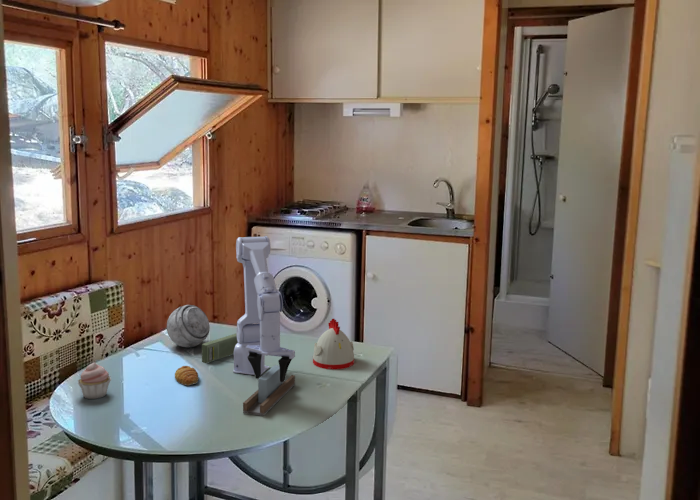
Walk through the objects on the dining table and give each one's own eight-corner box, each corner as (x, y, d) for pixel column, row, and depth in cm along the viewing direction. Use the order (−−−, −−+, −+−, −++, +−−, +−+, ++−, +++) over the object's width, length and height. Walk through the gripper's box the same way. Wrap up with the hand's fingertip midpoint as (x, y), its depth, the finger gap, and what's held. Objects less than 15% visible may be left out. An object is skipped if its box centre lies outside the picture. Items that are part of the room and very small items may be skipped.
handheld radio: (200, 362, 227) (254, 343, 247) (206, 364, 225) (261, 346, 245) (200, 343, 226) (255, 326, 245) (206, 345, 224) (261, 328, 243)
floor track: (243, 413, 187) (243, 402, 187) (276, 382, 210) (276, 373, 209) (263, 416, 186) (263, 405, 185) (295, 384, 208) (295, 375, 208)
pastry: (203, 384, 208) (203, 372, 207) (182, 388, 204) (181, 376, 204) (193, 374, 216) (193, 363, 215) (172, 378, 212) (172, 367, 212)
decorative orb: (191, 355, 233) (190, 313, 230) (158, 349, 239) (156, 307, 236) (217, 343, 246) (216, 303, 243) (185, 337, 252) (184, 298, 249)
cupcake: (109, 400, 194) (107, 367, 192) (75, 402, 193) (72, 368, 191) (115, 388, 203) (113, 356, 202) (82, 389, 202) (80, 357, 200)
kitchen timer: (321, 371, 220) (321, 327, 217) (307, 358, 232) (307, 315, 229) (360, 366, 225) (361, 322, 222) (344, 353, 238) (345, 312, 235)
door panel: (258, 402, 193) (258, 379, 191) (274, 387, 204) (274, 364, 203) (266, 403, 192) (266, 380, 191) (282, 388, 203) (282, 365, 202)
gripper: (240, 335, 192) (241, 381, 195) (288, 340, 188) (288, 387, 191) (251, 328, 199) (251, 372, 202) (297, 333, 195) (297, 378, 198)
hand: (270, 379), depth 197 cm, fingers open, 7 cm apart
